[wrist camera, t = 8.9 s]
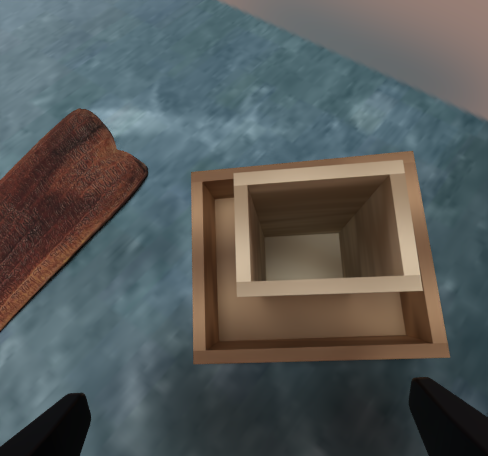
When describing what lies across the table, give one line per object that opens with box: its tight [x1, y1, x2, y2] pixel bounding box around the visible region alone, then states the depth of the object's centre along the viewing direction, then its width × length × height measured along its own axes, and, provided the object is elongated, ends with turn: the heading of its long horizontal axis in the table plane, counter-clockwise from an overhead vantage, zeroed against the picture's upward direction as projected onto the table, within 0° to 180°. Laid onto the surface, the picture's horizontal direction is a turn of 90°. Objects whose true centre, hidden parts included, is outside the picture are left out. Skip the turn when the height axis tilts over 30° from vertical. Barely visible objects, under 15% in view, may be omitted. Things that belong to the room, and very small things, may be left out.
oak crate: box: [191, 151, 450, 364], centre depth 20 cm, size 11×13×4 cm
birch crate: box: [234, 160, 423, 297], centre depth 16 cm, size 4×6×11 cm
